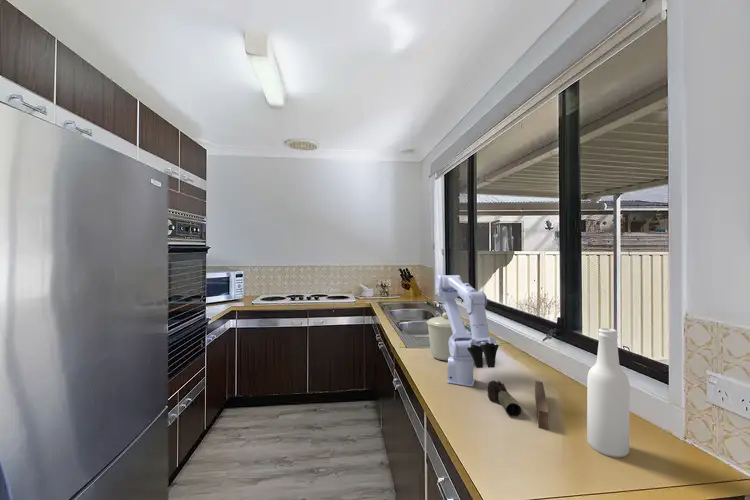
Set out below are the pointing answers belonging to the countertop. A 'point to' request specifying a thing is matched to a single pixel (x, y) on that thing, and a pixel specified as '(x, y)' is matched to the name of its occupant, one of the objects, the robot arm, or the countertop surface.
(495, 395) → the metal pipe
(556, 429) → the countertop surface
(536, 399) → the brown wooden plank
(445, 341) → the canister
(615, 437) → the alcohol
